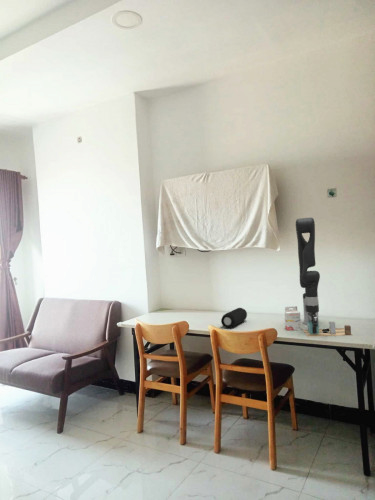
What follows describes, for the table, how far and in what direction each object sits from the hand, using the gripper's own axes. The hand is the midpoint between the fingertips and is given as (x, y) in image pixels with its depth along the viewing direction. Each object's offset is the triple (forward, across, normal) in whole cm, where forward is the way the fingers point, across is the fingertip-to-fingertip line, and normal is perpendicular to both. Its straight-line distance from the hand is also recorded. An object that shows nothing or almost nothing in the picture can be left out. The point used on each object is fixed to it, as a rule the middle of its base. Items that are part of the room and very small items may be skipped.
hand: (313, 331), depth 214 cm
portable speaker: (+2, -31, -46) cm, 55 cm away
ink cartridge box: (+2, -10, -10) cm, 14 cm away
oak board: (+1, 0, +8) cm, 8 cm away
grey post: (+1, +4, +10) cm, 11 cm away
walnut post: (+1, +6, +18) cm, 19 cm away
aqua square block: (+1, 0, 0) cm, 1 cm away
